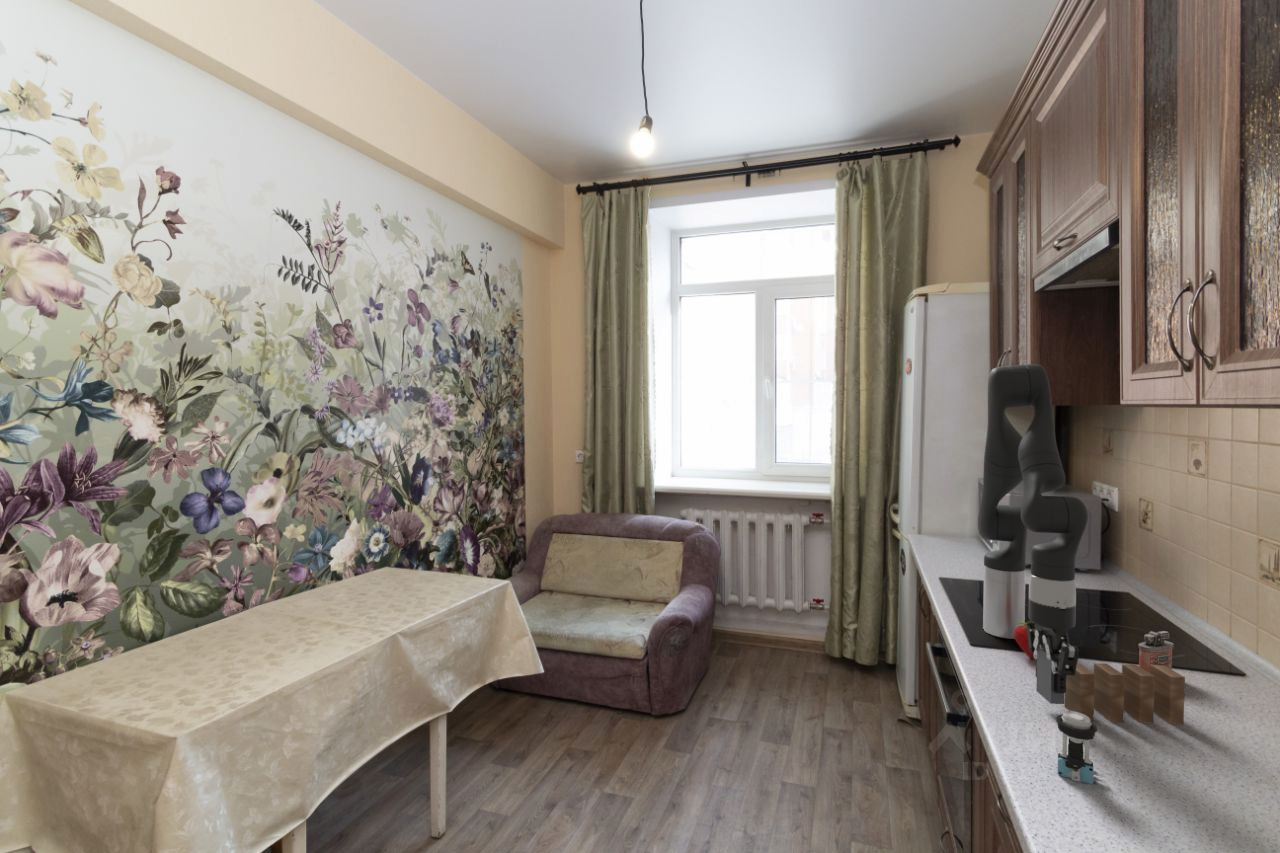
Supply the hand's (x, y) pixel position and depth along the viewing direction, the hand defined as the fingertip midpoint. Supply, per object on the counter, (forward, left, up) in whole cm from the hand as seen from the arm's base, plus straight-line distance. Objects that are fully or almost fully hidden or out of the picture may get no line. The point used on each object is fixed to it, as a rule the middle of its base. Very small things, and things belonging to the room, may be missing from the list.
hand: (1050, 685), depth 117 cm
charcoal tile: (0, 0, -2) cm, 2 cm away
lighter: (-17, +31, -6) cm, 35 cm away
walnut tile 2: (0, +16, -5) cm, 17 cm away
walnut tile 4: (0, +5, -5) cm, 8 cm away
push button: (+21, -6, -6) cm, 23 cm away
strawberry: (-25, +10, -6) cm, 27 cm away
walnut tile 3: (0, +11, -5) cm, 12 cm away
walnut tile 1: (0, +21, -5) cm, 22 cm away
